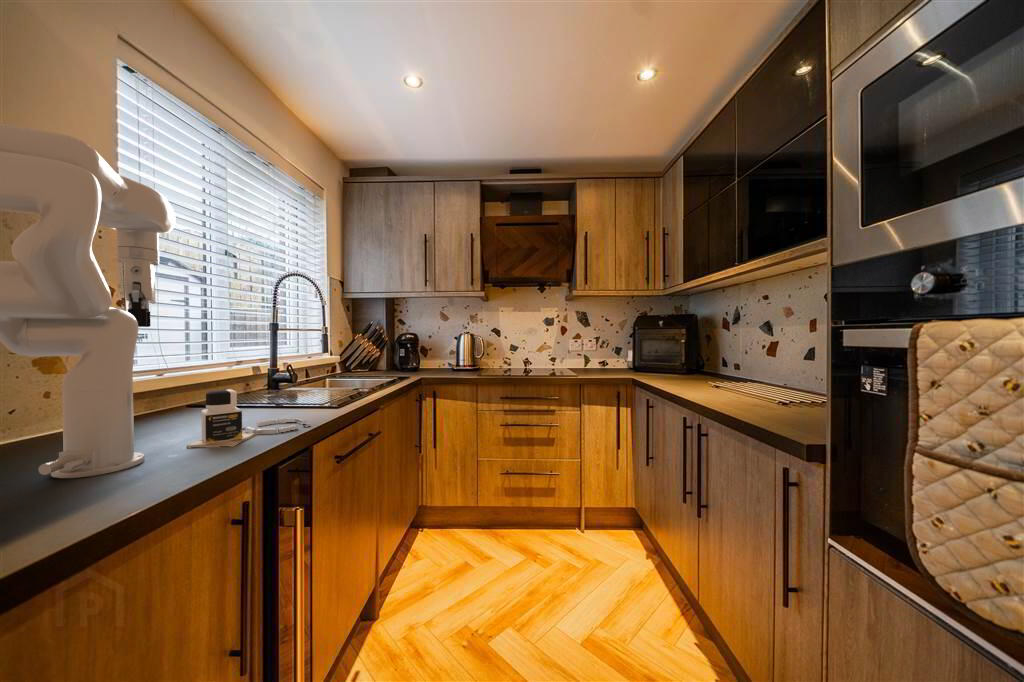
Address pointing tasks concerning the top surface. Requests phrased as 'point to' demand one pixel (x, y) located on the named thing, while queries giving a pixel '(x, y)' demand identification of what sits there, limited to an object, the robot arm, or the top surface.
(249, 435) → the cork pad
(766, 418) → the top surface
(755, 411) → the top surface
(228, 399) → the medicine bottle
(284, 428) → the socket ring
